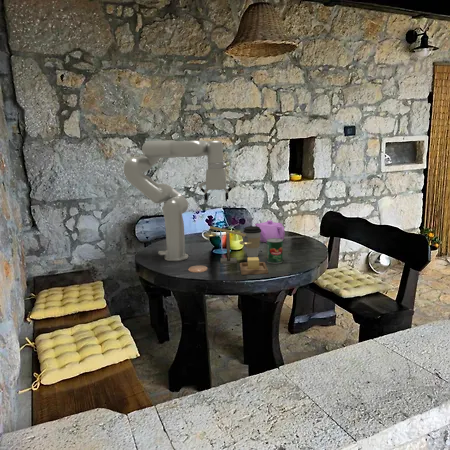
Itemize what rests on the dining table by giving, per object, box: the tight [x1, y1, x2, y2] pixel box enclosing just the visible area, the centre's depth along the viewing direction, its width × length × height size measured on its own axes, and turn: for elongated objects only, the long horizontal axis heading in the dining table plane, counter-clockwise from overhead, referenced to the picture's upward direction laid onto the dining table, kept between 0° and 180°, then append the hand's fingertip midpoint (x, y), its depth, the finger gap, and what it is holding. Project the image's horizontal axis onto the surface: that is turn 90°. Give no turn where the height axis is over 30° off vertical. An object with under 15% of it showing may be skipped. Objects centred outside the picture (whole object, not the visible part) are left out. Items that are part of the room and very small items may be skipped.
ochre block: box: [246, 256, 260, 270], centre depth 188 cm, size 5×5×5 cm
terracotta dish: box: [188, 265, 208, 273], centre depth 192 cm, size 9×9×1 cm
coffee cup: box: [242, 225, 261, 258], centre depth 212 cm, size 9×9×15 cm
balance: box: [203, 225, 252, 265], centre depth 201 cm, size 23×6×18 cm, turn 92°
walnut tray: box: [239, 261, 269, 276], centre depth 188 cm, size 12×12×2 cm
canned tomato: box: [266, 238, 284, 265], centre depth 200 cm, size 8×8×11 cm
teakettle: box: [254, 219, 286, 244], centre depth 244 cm, size 17×17×12 cm
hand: (216, 201), depth 201 cm, fingers open, 9 cm apart
